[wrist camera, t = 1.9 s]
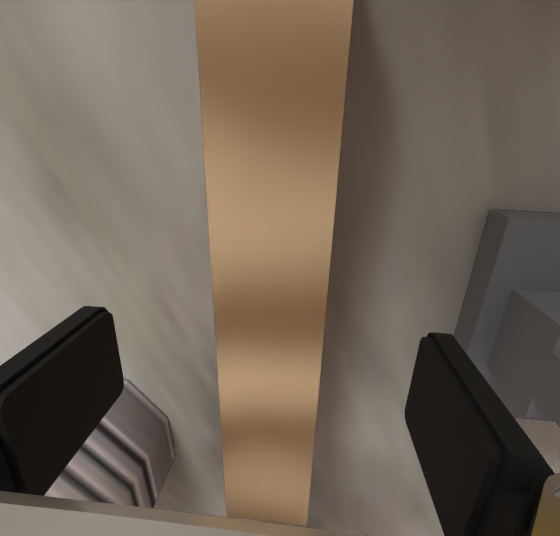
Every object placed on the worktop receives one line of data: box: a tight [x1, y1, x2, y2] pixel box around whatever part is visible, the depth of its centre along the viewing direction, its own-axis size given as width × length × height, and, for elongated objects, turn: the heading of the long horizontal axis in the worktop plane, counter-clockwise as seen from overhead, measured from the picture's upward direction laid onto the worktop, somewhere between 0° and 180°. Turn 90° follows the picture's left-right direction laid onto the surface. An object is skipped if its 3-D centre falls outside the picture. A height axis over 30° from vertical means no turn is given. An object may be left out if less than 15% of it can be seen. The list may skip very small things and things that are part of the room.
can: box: [44, 378, 175, 509], centre depth 16 cm, size 11×11×12 cm
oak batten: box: [195, 0, 354, 526], centre depth 14 cm, size 24×4×5 cm, turn 178°
